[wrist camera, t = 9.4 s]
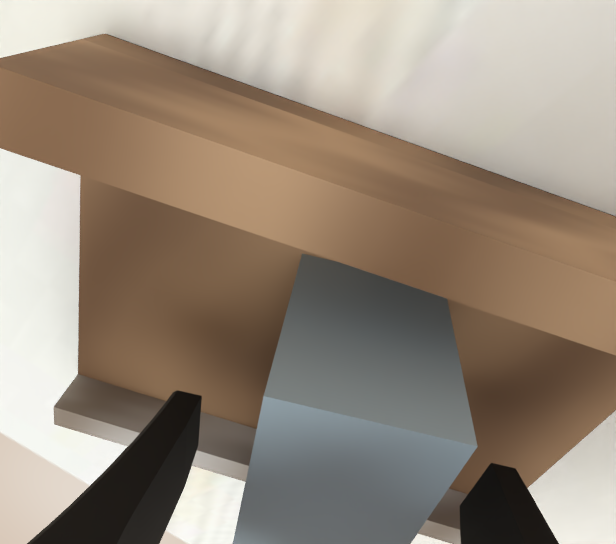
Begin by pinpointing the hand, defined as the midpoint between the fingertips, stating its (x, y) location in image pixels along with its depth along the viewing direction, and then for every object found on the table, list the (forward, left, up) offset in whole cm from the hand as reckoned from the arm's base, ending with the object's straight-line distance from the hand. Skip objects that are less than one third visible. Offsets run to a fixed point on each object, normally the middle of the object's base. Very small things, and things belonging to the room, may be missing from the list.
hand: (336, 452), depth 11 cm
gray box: (0, 0, -4) cm, 4 cm away
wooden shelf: (0, 0, -4) cm, 4 cm away
